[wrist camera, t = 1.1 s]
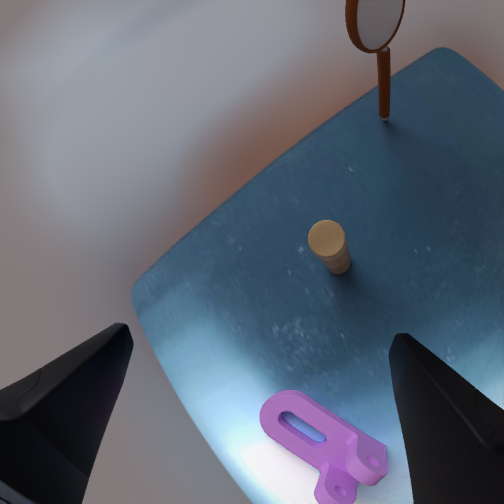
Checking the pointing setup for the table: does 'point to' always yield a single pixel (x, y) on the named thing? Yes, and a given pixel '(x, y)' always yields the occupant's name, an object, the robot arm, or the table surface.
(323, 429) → the bracket
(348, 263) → the stirring stick
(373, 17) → the magnifying glass
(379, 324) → the table surface
